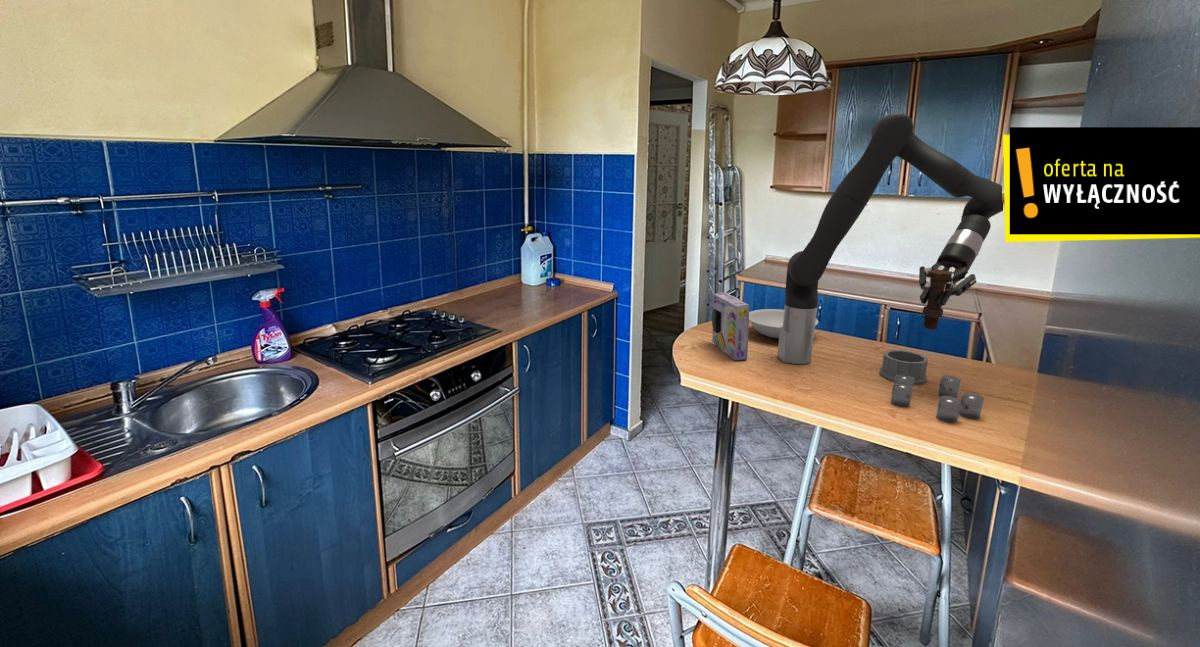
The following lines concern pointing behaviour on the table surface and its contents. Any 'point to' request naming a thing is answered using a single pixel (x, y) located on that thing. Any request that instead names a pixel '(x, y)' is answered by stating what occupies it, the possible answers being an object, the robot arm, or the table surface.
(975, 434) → the table surface
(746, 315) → the cake pan box
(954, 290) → the robot arm
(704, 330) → the table surface
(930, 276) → the bolt
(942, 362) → the table surface
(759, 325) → the soup bowl
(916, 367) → the round gray container
